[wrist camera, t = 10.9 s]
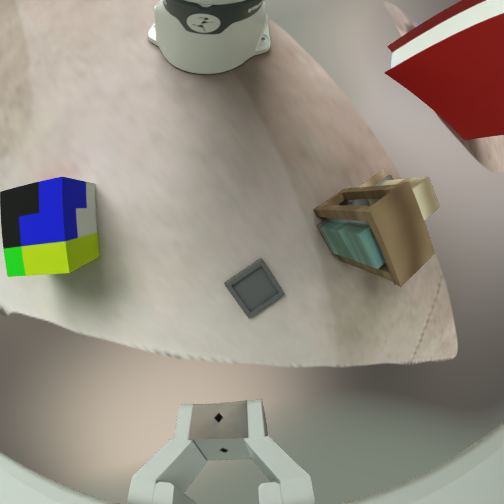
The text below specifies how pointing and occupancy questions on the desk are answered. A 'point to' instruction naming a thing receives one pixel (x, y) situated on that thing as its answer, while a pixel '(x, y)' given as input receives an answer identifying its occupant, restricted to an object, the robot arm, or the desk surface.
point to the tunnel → (387, 227)
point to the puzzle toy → (49, 227)
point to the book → (457, 66)
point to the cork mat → (374, 179)
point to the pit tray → (254, 288)
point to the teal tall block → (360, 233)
